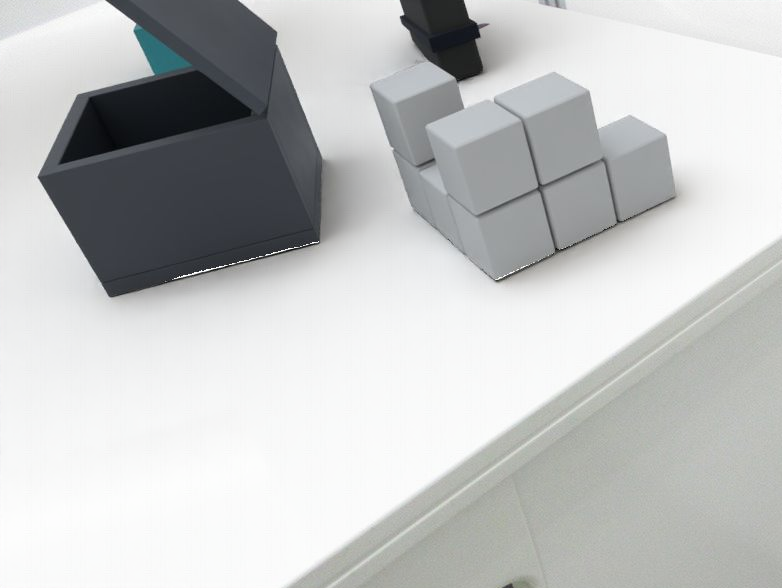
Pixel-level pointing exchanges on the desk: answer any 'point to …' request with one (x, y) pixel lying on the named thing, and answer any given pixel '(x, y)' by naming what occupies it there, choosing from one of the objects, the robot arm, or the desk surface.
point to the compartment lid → (213, 41)
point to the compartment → (183, 177)
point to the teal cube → (158, 53)
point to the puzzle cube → (518, 164)
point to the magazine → (444, 34)
